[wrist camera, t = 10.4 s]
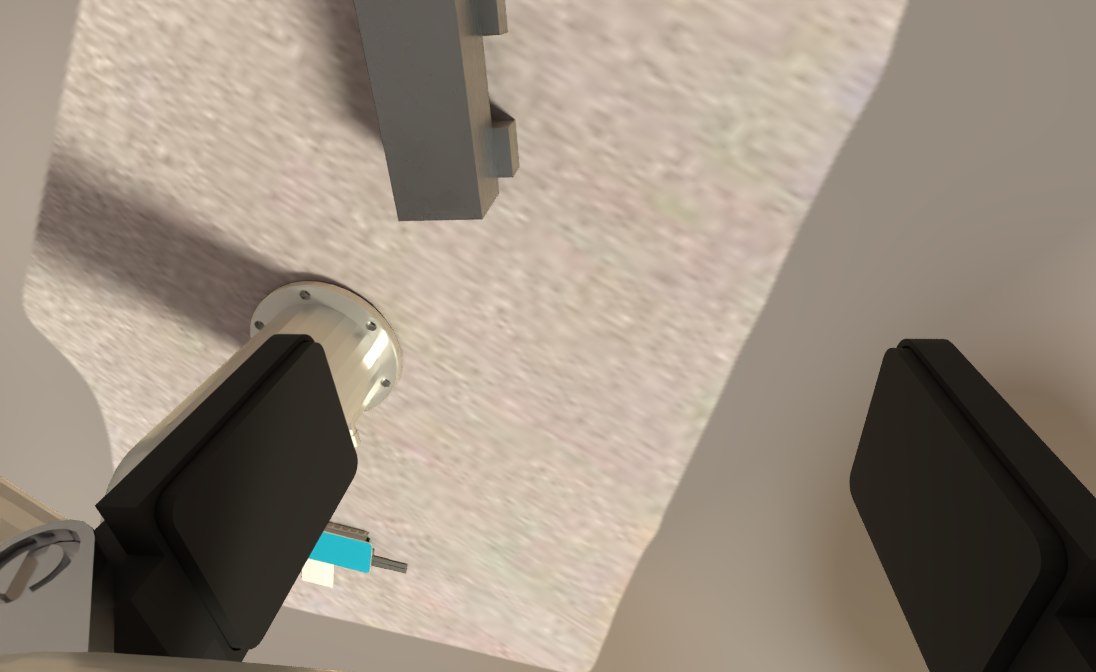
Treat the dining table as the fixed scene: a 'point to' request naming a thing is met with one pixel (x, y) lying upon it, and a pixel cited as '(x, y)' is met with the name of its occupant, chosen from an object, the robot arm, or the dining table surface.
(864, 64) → the dining table surface
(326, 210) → the dining table surface
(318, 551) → the cyan and grey device
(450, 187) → the metal sleeve
